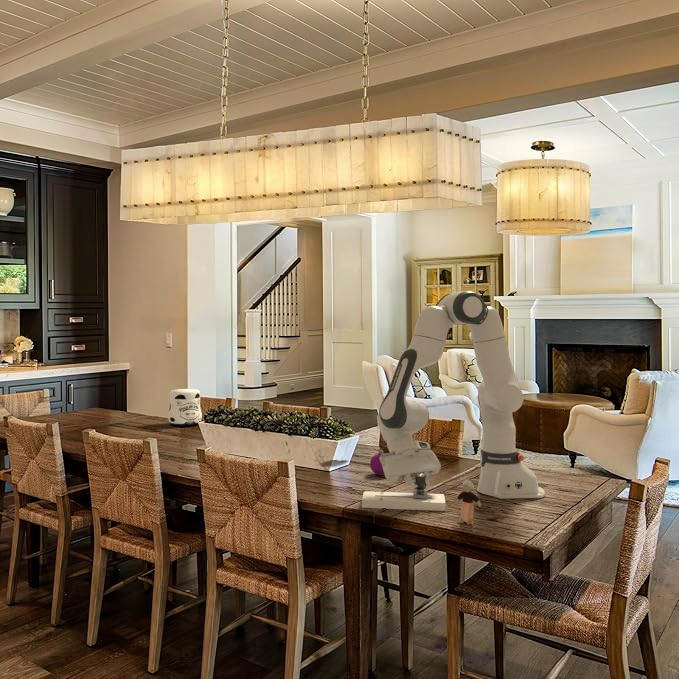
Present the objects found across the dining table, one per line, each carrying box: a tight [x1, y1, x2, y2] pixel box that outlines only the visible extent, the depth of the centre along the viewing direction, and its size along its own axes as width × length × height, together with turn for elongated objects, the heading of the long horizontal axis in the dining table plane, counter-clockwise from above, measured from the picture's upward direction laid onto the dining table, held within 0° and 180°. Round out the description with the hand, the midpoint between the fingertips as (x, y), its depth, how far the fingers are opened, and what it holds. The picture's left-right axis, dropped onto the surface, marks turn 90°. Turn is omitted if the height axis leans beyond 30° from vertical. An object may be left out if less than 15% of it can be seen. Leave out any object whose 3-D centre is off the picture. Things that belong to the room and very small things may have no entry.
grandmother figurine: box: [455, 479, 482, 525], centre depth 203 cm, size 8×4×13 cm, turn 69°
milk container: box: [167, 388, 203, 427], centre depth 363 cm, size 17×17×18 cm
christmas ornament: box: [369, 448, 385, 476], centre depth 259 cm, size 8×8×10 cm
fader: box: [412, 473, 428, 498], centre depth 220 cm, size 4×4×7 cm
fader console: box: [361, 490, 446, 512], centre depth 221 cm, size 26×10×3 cm, turn 84°
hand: (421, 487), depth 219 cm, fingers closed on fader, 3 cm apart
